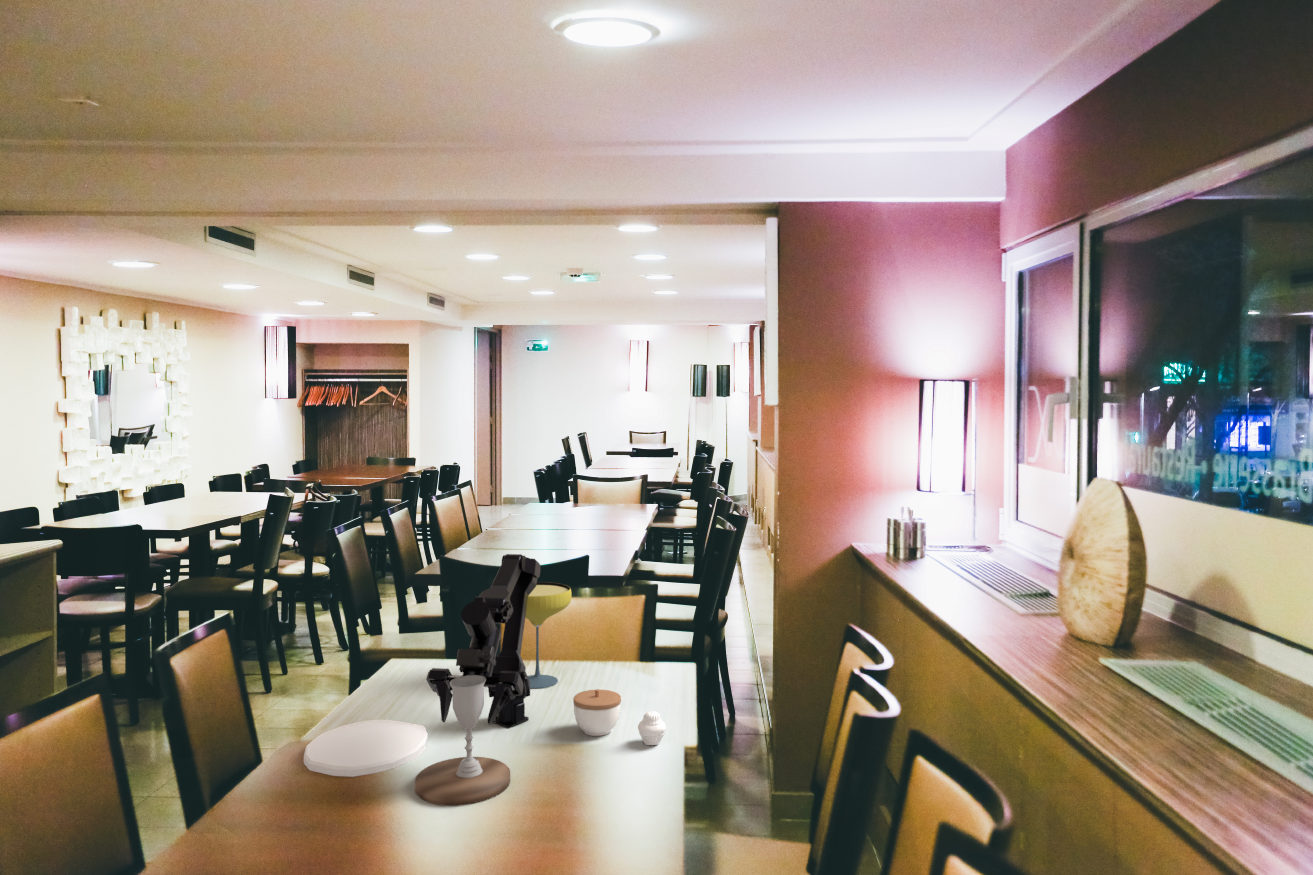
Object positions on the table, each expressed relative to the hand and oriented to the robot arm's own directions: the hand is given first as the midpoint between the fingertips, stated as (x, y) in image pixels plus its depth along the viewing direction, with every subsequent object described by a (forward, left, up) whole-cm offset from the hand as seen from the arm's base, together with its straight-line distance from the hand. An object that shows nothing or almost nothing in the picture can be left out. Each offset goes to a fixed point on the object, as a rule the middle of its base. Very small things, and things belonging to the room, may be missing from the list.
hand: (465, 722), depth 163 cm
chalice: (+1, 0, -10) cm, 10 cm away
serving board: (+1, -1, -11) cm, 11 cm away
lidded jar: (+4, +35, -12) cm, 37 cm away
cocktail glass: (-31, +51, -12) cm, 60 cm away
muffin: (+18, +37, -12) cm, 42 cm away
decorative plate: (-28, -3, -12) cm, 31 cm away
